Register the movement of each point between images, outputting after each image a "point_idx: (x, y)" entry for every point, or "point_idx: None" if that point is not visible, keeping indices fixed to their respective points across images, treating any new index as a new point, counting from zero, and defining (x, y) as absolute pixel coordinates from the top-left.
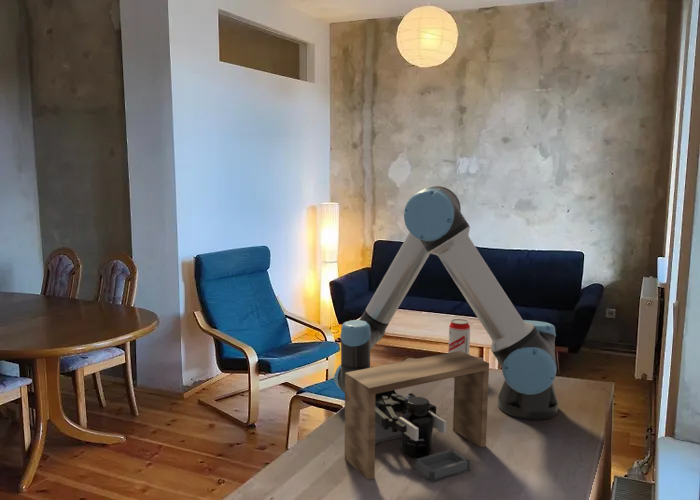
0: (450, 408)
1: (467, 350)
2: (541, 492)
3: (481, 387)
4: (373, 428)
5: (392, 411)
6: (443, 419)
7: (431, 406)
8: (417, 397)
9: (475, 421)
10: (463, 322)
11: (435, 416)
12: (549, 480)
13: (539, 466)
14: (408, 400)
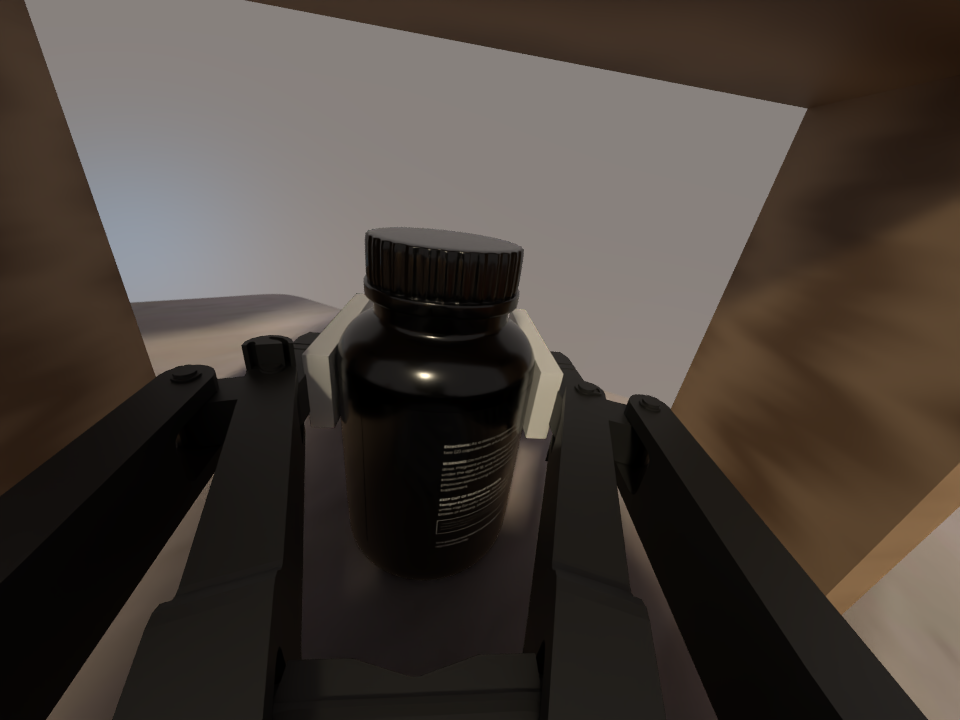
0: None
1: None
2: (332, 309)
3: (47, 112)
4: (734, 285)
5: (575, 455)
6: (354, 299)
7: (259, 337)
8: (411, 241)
9: (101, 354)
10: None
11: (354, 317)
12: (273, 313)
13: (214, 330)
14: (513, 249)
